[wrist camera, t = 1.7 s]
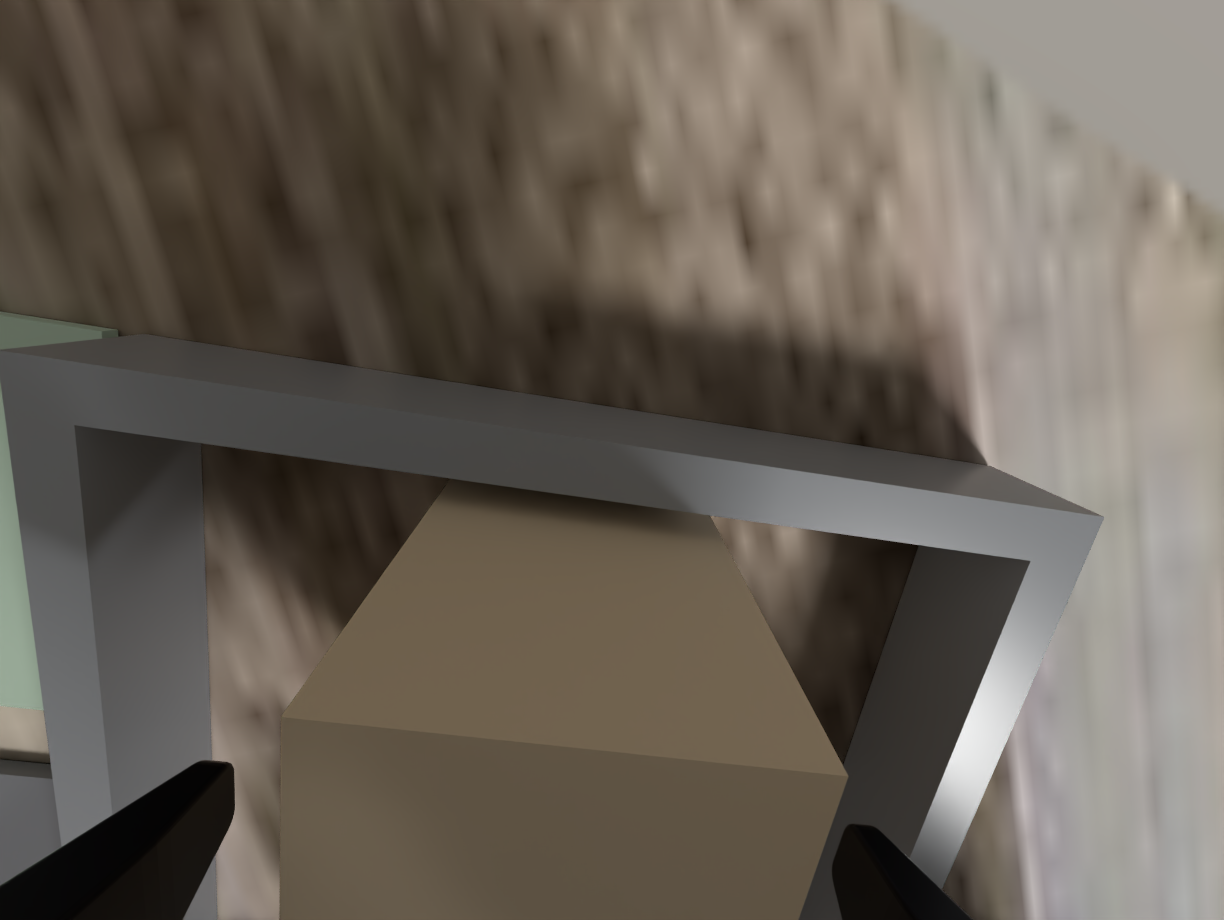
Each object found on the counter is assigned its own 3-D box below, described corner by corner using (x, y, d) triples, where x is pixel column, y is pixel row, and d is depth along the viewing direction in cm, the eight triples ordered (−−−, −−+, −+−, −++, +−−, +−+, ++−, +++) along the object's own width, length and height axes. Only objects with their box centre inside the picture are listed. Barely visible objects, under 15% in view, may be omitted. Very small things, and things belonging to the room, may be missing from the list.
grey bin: (990, 465, 13) (1104, 517, 10) (781, 1033, 18) (818, 1173, 15) (144, 334, 11) (-4, 349, 9) (184, 995, 17) (100, 1142, 14)
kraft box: (693, 485, 13) (849, 777, 5) (638, 740, 15) (693, 1222, 7) (469, 453, 12) (281, 718, 5) (442, 719, 14) (276, 1208, 7)
